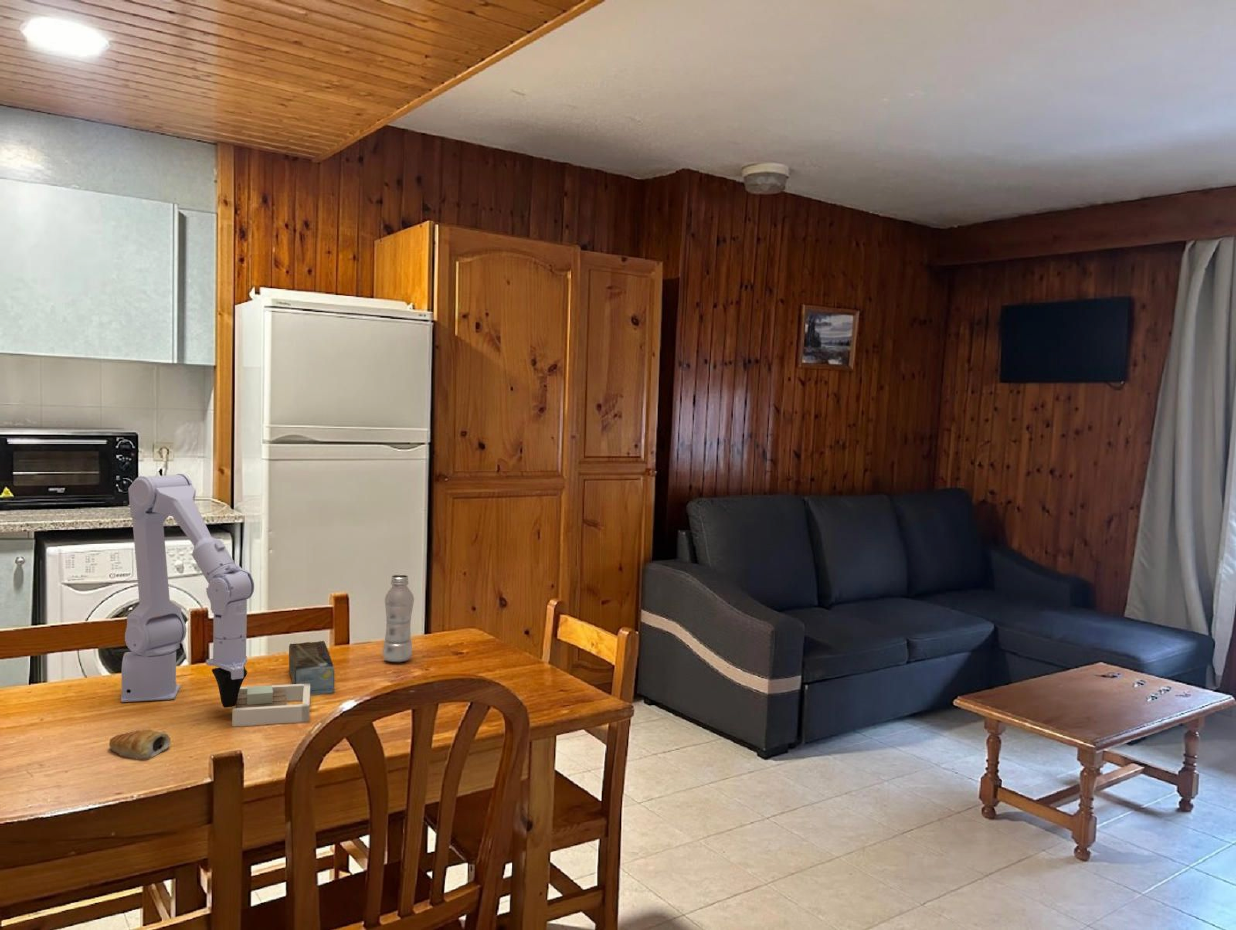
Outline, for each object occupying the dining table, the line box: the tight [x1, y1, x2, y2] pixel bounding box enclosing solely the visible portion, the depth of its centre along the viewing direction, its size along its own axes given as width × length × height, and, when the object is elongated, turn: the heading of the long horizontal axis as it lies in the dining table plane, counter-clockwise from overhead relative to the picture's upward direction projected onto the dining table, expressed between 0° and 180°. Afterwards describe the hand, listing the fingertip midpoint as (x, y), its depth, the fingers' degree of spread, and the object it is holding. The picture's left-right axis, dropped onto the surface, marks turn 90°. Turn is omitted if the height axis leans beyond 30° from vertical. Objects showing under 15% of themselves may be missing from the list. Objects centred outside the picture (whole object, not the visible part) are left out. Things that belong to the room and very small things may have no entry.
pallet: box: [234, 691, 287, 708], centre depth 170 cm, size 9×9×3 cm
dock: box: [231, 683, 311, 727], centre depth 170 cm, size 13×13×3 cm
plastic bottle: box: [382, 574, 415, 663], centre depth 205 cm, size 6×7×20 cm
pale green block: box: [246, 684, 273, 705], centre depth 170 cm, size 4×4×2 cm
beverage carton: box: [288, 640, 335, 696], centre depth 189 cm, size 8×19×7 cm, turn 24°
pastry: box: [108, 728, 171, 761], centre depth 150 cm, size 9×7×4 cm
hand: (228, 705), depth 168 cm, fingers closed
